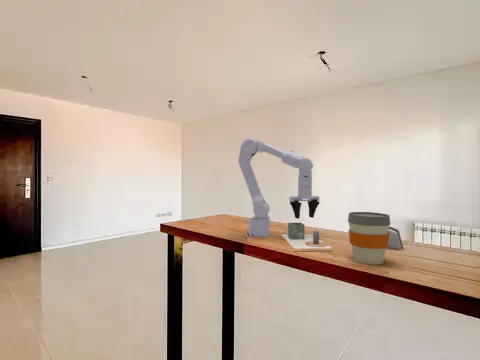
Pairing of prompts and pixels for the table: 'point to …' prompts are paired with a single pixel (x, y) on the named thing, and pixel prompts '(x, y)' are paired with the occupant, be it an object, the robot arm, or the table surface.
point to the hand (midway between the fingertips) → (304, 217)
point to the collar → (296, 230)
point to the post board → (307, 242)
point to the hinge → (394, 238)
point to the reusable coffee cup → (368, 236)
